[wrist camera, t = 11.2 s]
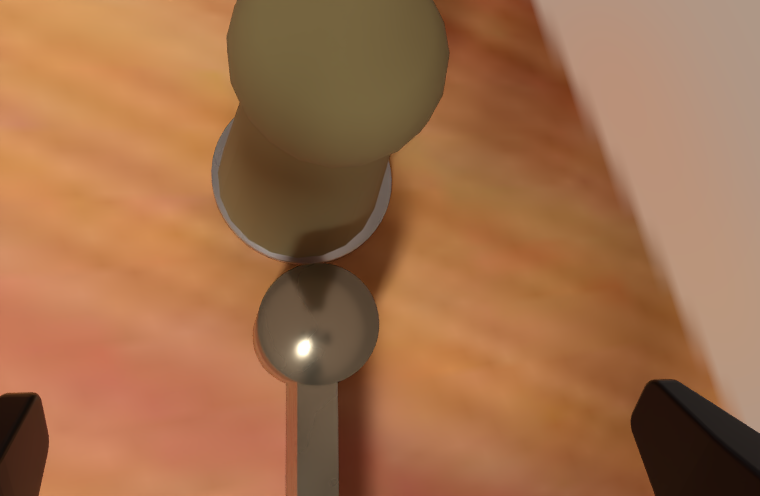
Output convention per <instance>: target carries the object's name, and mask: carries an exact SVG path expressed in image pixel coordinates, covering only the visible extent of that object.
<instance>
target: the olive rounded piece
mask: <svg viewBox="0 0 760 496" xmlns="http://www.w3.org/2000/svg"><path fill="white" fill-rule="evenodd" d="M227 53H228V62H229V72H230V81H231V84H232V87H233V89H234V91H235V93H236V95H237V97H238V99H239V101H240V103H239V106H238V109H237V112H236V115H235V118H234V121H233V123H232V126H231V129H230V132H229V135H228V138H227V141H226V144H225V147H224V150H223V154H222V158H221V162H220V166H219V170H218V180H219V190H220V198H221V200H222V202H223V205H224V207H225V209H226V211H227V213H228V216H229V218H230V220H231V221H232V222H233V223H234V225H235V226H236V227H237V228H238V229H239V230H240V231H241V232H242V233H243V234H244V235H245V236H246V237H247V239H248V240H250V241H252V242H254V243H255V244H257V245H259V246H261V247H262V248H264V249H266V250H268V251H270V252H271V253H276V254H281V255H285V256H290V257H295V258H302V257H312V256H322V255H325V254H327V253H329V252H332V251H334V250H336V249H339V248H341V247H343V246H345V245H346V244H348V243H349V242H350V241H351V240H352V239H353V238H354V237H355V236H356V235H357V234H359V233H360V232H361V231H362V230H363V229H364V227H365V225H366V223H367V221H368V220H369V218H370V216H371V214H372V212H373V211H374V209H375V205H376V202H377V198H378V195H379V192H380V188H381V185H382V181H383V178H384V174H385V171H386V168H387V164H388V161H389V157H390V154H392V153H395V152H397V151H399V150H400V149H401V148H402V147H403V146H404V145H405V144H407V143H408V142H409V141H410V140H411V139H412V138H414V137H415V136H416V135H417V134H418V133H419V132H420V131H421V130H422V129H423V128H424V126H425V125H426V124H427V122H428V121H429V119H430V117H431V115H432V114H433V112H434V110H435V108H436V106H437V104H438V103H439V101H440V99H441V97H442V95H443V90H444V84H445V78H446V72H447V66H448V59H449V48H448V42H447V36H446V31H445V25H444V22H443V20H442V17H441V15H440V13H439V11H438V9H437V7H436V5H435V3H434V2H433V0H237V2H236V4H235V6H234V10H233V14H232V18H231V22H230V26H229V30H228V33H227Z"/></svg>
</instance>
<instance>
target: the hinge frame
mask: <svg viewBox="0 0 760 496" xmlns="http://www.w3.org/2000/svg"><path fill="white" fill-rule="evenodd" d="M234 118H235V117H234ZM234 118H233V119H232V121H231V122H230V123H229V124H228V126H227V127H226V128H225V130H224V131H223V133H222V135H221V137H220V139H219V141H218V143H217V146H216V148H215V152H214V156H213V161H212V186H213V192H214V197H215V200H216V203H217V206H218V208H219V210H220V212H221V215H222V217H223V218H224V220H225V221H226V223H227V224H228V226H229V227H230V229H231V230H232V231H233V232H234V233H235V234H236V236H237V237H238V238H240V239H241V240H242V241H243V242H244V243H245V244H246V245H248V246H249V247H251V248H252V249H254V250H255V251H257V252H258V253H260V254H262V255H264V256H266V257H269V258H271V259H274V260H277V261H280V262H285V263H290V264H299V265H301V266H298V267H295V268H293V269H291V270H289V271H287V272H286V273H284V274H283V275H281V276H280V277H279V278H278V279H277V280H276V281H275V282H274V283H273V284H272V285H271V286H270V288H269V289H268V291H267V292H266V294H265V296H264V298H263V300H262V303H261V305H260V308H259V311H258V314H257V317H256V320H255V324H254V329H253V344H254V349H255V352H256V355H257V357H258V359H259V361H260V363H261V364H262V366H263V367H264V368H265V370H266V371H267V372H268V373H269V374H271V375H272V376H273V377H275V378H276V379H278V380H280V381H282V382H284V383H286V496H339V460H338V382H339V381H342V380H344V379H346V378H348V377H350V376H351V375H353V374H354V373H356V372H357V371H358V370H359V369H360V368H361V367H362V366H363V365H364V364H365V363H366V361H367V360H368V359H369V357H370V355H371V354H372V352H373V350H374V347H375V345H376V342H377V338H378V332H379V316H378V311H377V307H376V304H375V301H374V299H373V297H372V295H371V293H370V291H369V290H368V288H367V287H366V286H365V285H364V283H363V282H362V281H361V280H360V279H359V278H357V277H356V276H355V275H354V274H352V273H351V272H349V271H347V270H345V269H343V268H341V267H338V266H335V265H331V264H326V263H325V262H329V261H332V260H336V259H338V258H341V257H343V256H345V255H347V254H349V253H350V252H352V251H354V250H355V249H357V248H358V247H359V246H360V245H362V244H363V243H364V242H365V241H366V240H367V239H368V238H369V237H370V236H371V235H372V233H373V232H374V231H375V230H376V228H377V227H378V225H379V224H380V222H381V221H382V219H383V217H384V214H385V212H386V210H387V207H388V204H389V200H390V194H391V181H392V179H391V168H390V164H389V161H388V164H387V168H386V171H385V174H384V178H383V181H382V185H381V188H380V192H379V195H378V198H377V202H376V205H375V209H374V211H373V212H372V214H371V216H370V218H369V220H368V221H367V223H366V225H365V227H364V229H363V230H362V231H361V232H360V233H359V234H357V235H356V236H355V237H354V238H353V239H352V240H351V241H350V242H349V243H348V244H346V245H345V246H343V247H341V248H339V249H336V250H334V251H332V252H329V253H327V254H325V255H322V256H312V257H302V258H295V257H290V256H285V255H281V254H276V253H271V252H270V251H268V250H266V249H264V248H262V247H261V246H259V245H257V244H255V243H254V242H252V241H250V240H248V239H247V237H246V236H245V235H244V234H243V233H242V232H241V231H240V230H239V229H238V228H237V227H236V226H235V225H234V223H233V222H232V221H231V220H230V218H229V216H228V213H227V211H226V209H225V207H224V205H223V202H222V200H221V198H220V190H219V180H218V170H219V166H220V162H221V158H222V154H223V150H224V147H225V144H226V141H227V138H228V135H229V132H230V129H231V126H232V123H233V121H234Z"/></svg>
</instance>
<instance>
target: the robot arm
mask: <svg viewBox="0 0 760 496" xmlns="http://www.w3.org/2000/svg"><path fill="white" fill-rule="evenodd" d="M631 429H632V433H633V435H634V438H635V441H636V444H637V447H638V449H639V452H640V455H641V458H642V460H643V463H644V466H645V469H646V471H647V474H648V477H649V480H650V483H651V485H652V488H653V491H654V494H655V496H760V433H758V432H756V431H755V430H753V429H752V428H750V427H749V426H747V425H746V424H744V423H743V422H741V421H739V420H738V419H736V418H735V417H733V416H732V415H730V414H729V413H727V412H725V411H724V410H722V409H721V408H719V407H718V406H716V405H714V404H713V403H711V402H710V401H708V400H707V399H705V398H704V397H702V396H700V395H699V394H697V393H696V392H694V391H693V390H691V389H689V388H688V387H686V386H685V385H683V384H682V383H680V382H678V381H676V380H672V379H660V380H651V381H649V382H648V383H647V384H646V385H645V387H644V389H643V391H642V393H641V396H640V398H639V400H638V402H637V404H636V406H635V408H634V410H633V413H632V415H631ZM48 447H49V435H48V430H47V425H46V420H45V415H44V410H43V406H42V401H41V398H40V397H39V395H38V394H36V393H33V392H28V393H6V394H3V395H1V396H0V496H38V495H39V491H40V486H41V482H42V477H43V473H44V468H45V463H46V459H47V454H48Z"/></svg>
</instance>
